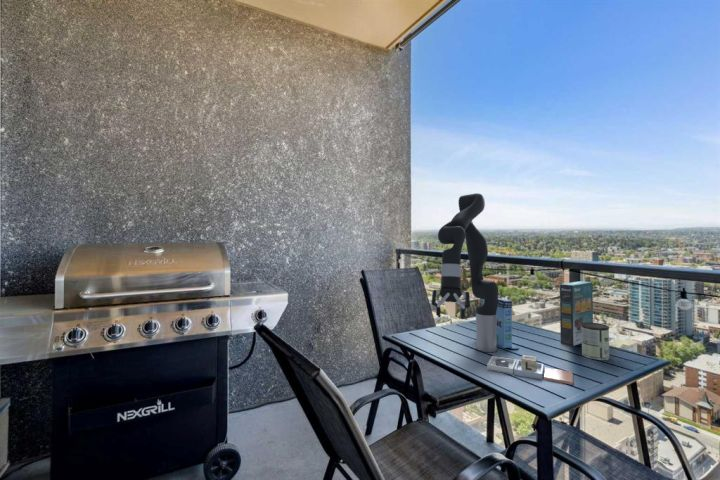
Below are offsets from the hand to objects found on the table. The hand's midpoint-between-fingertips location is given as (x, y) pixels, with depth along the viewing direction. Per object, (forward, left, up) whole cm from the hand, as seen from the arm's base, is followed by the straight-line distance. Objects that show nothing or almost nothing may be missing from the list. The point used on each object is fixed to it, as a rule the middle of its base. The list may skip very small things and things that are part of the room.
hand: (450, 318), depth 129 cm
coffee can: (-55, +50, -23) cm, 77 cm away
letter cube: (-20, +26, -22) cm, 39 cm away
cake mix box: (-79, +44, -23) cm, 93 cm away
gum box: (-56, +8, -23) cm, 61 cm away
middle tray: (-20, +26, -23) cm, 39 cm away
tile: (-20, +36, -23) cm, 47 cm away
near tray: (-20, +16, -23) cm, 34 cm away
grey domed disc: (-20, +16, -22) cm, 33 cm away
